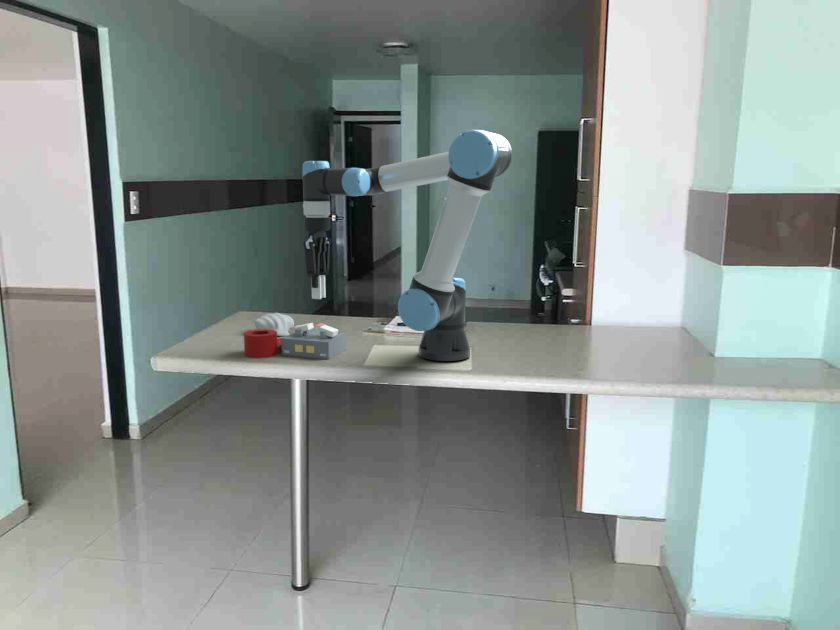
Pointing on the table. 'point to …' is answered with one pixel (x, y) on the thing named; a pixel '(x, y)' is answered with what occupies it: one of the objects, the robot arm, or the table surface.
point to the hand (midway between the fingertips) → (318, 297)
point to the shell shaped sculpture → (275, 323)
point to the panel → (313, 344)
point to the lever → (262, 343)
